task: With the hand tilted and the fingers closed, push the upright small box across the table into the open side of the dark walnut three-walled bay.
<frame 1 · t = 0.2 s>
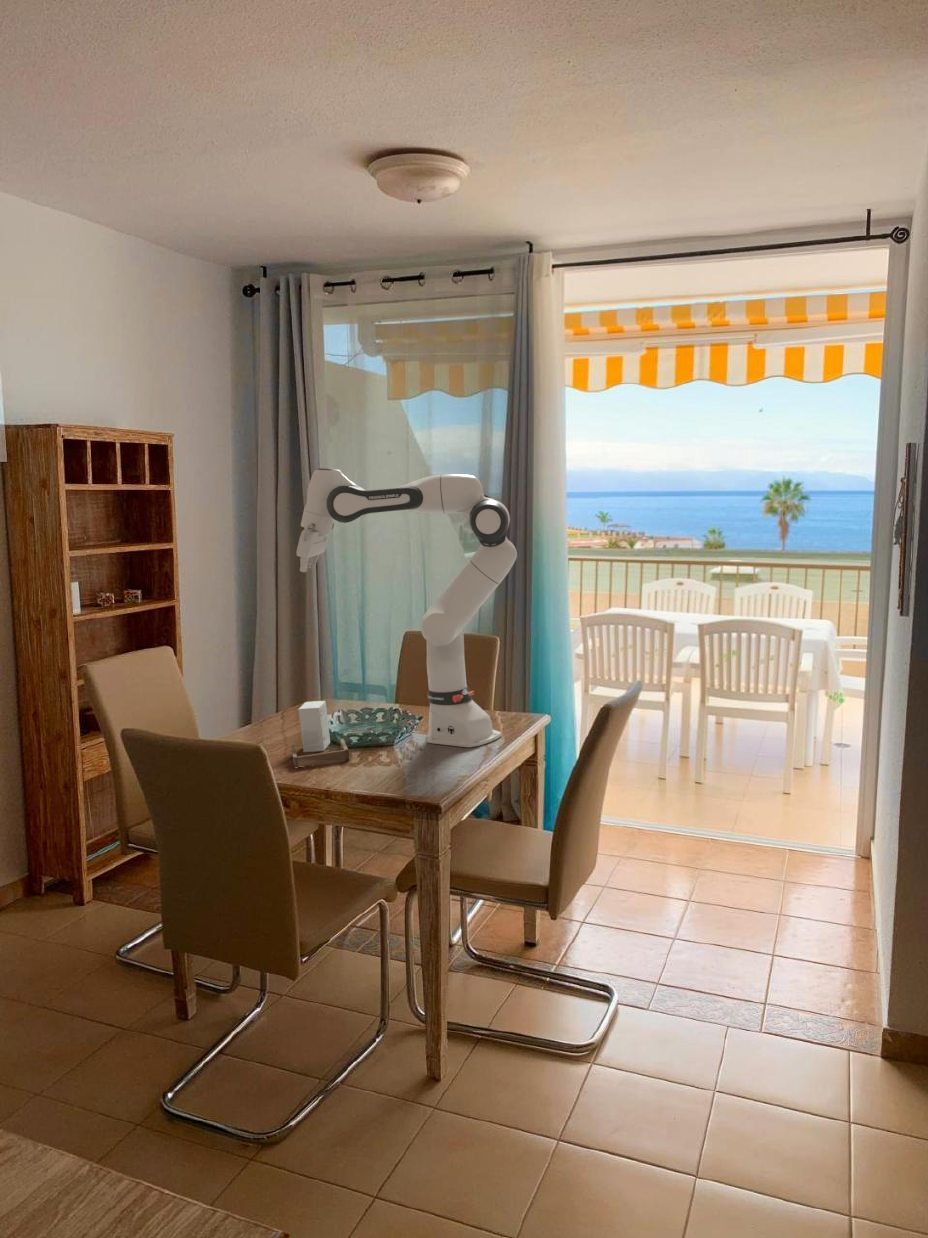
hand: (307, 569, 277), 52 cm above the table, tool tilted 20°, fingers open, 8 cm apart
small box: (317, 748, 281), on the table
walnut bay: (319, 756, 272), on the table
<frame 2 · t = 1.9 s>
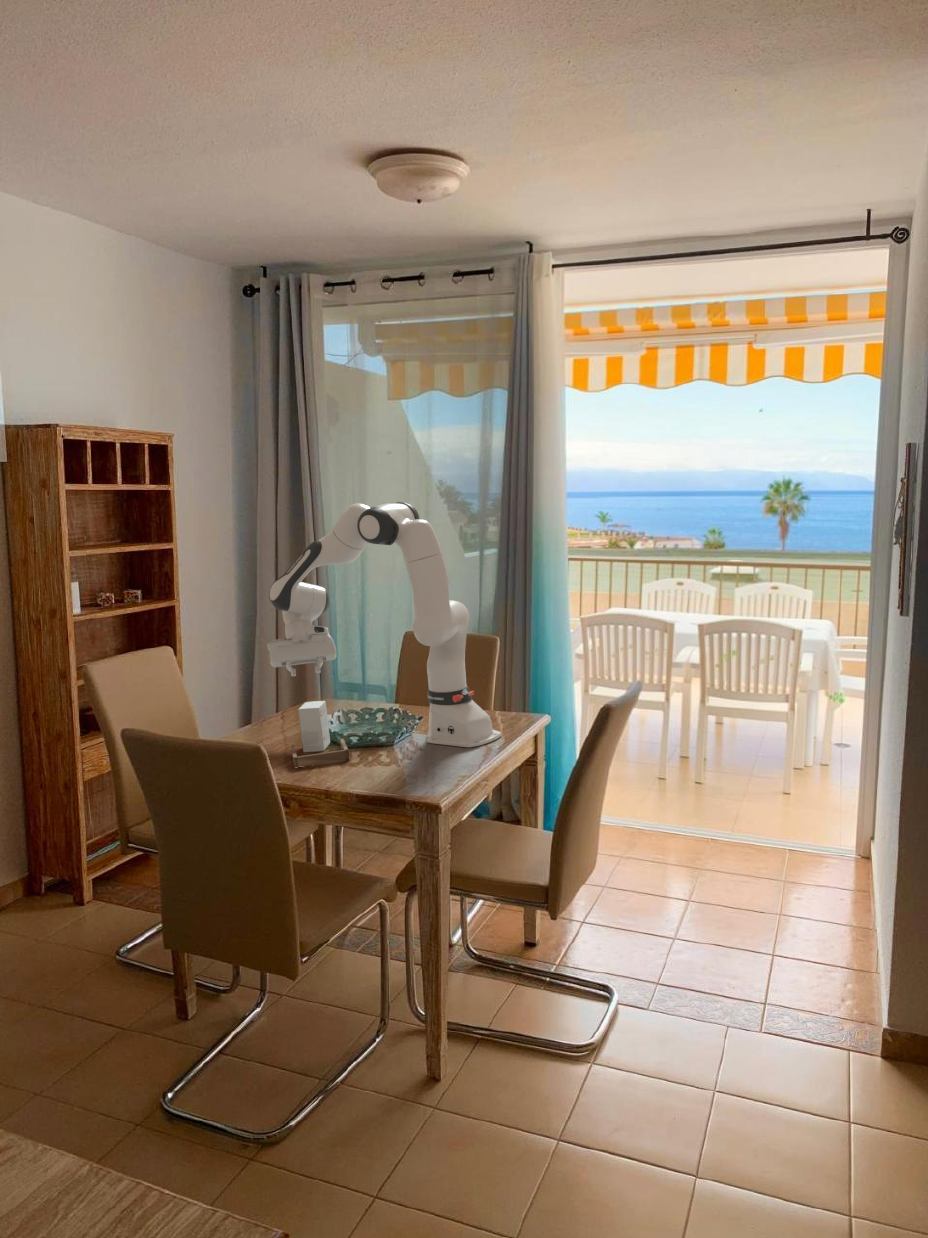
hand: (306, 673, 290), 19 cm above the table, tool tilted 45°, fingers open, 6 cm apart
nothing on the table moved.
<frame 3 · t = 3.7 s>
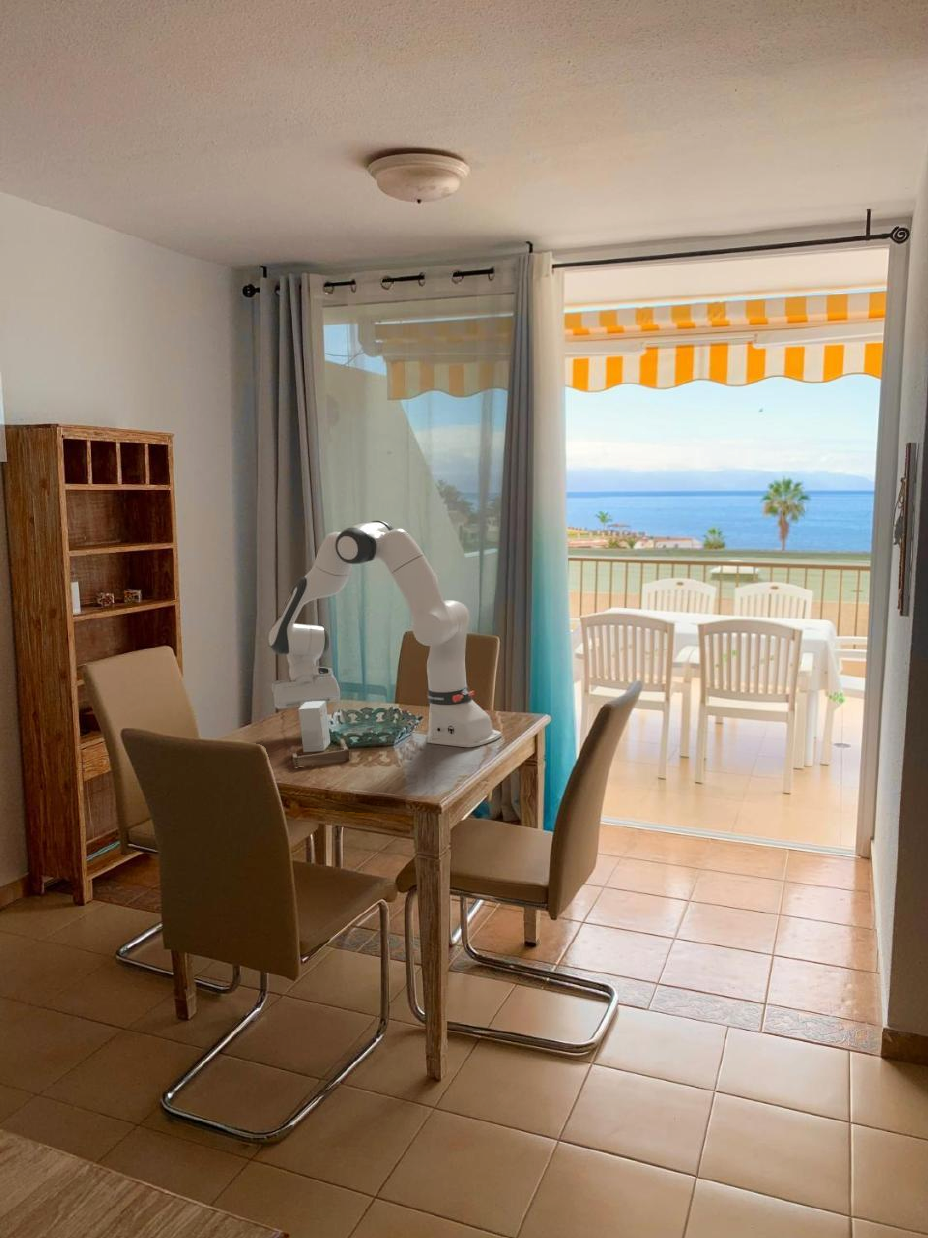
hand: (310, 715, 292), 6 cm above the table, tool tilted 45°, fingers closed
nothing on the table moved.
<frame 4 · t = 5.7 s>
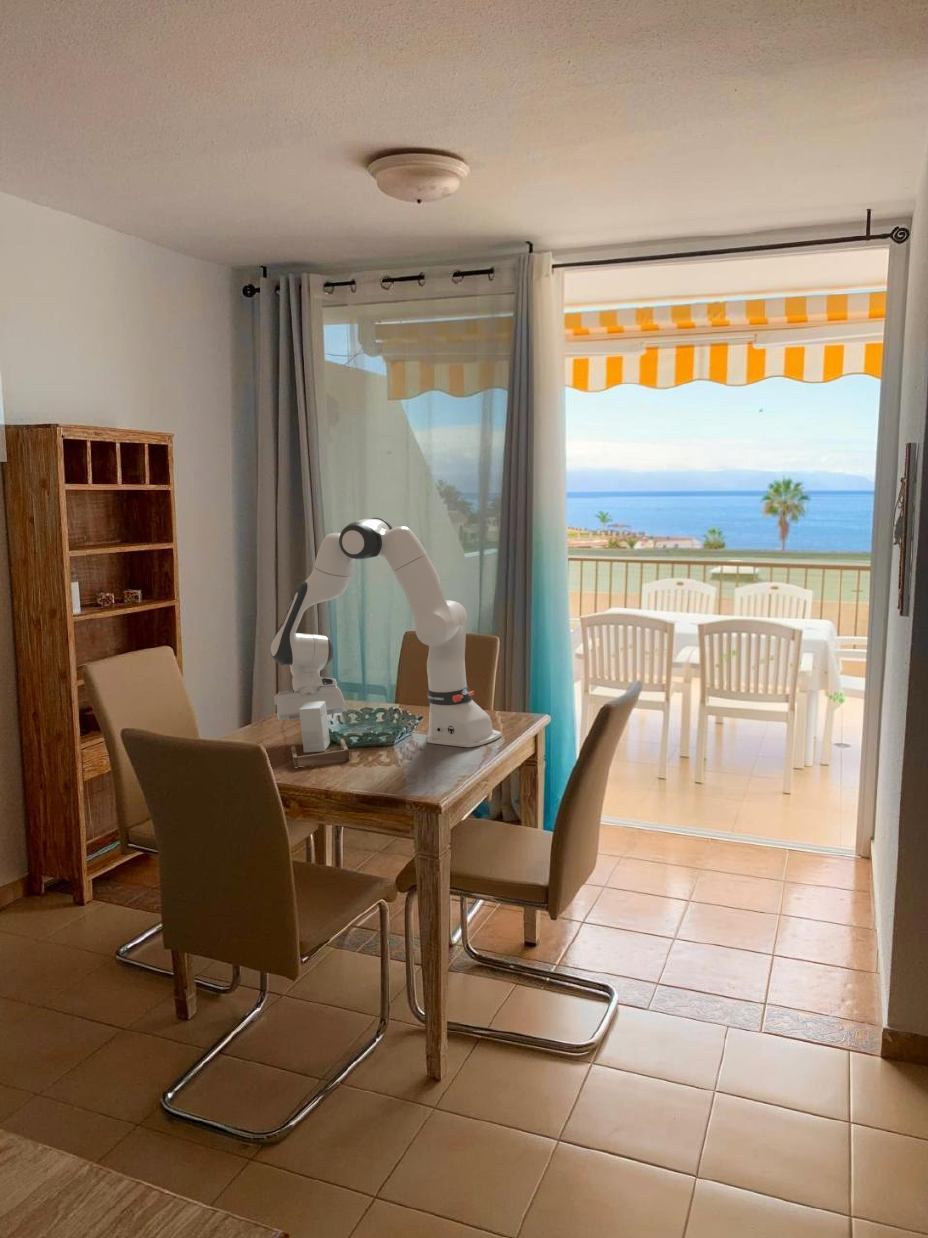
hand: (313, 727, 284), 5 cm above the table, tool tilted 45°, fingers closed
small box: (317, 748, 280), on the table, touching gripper
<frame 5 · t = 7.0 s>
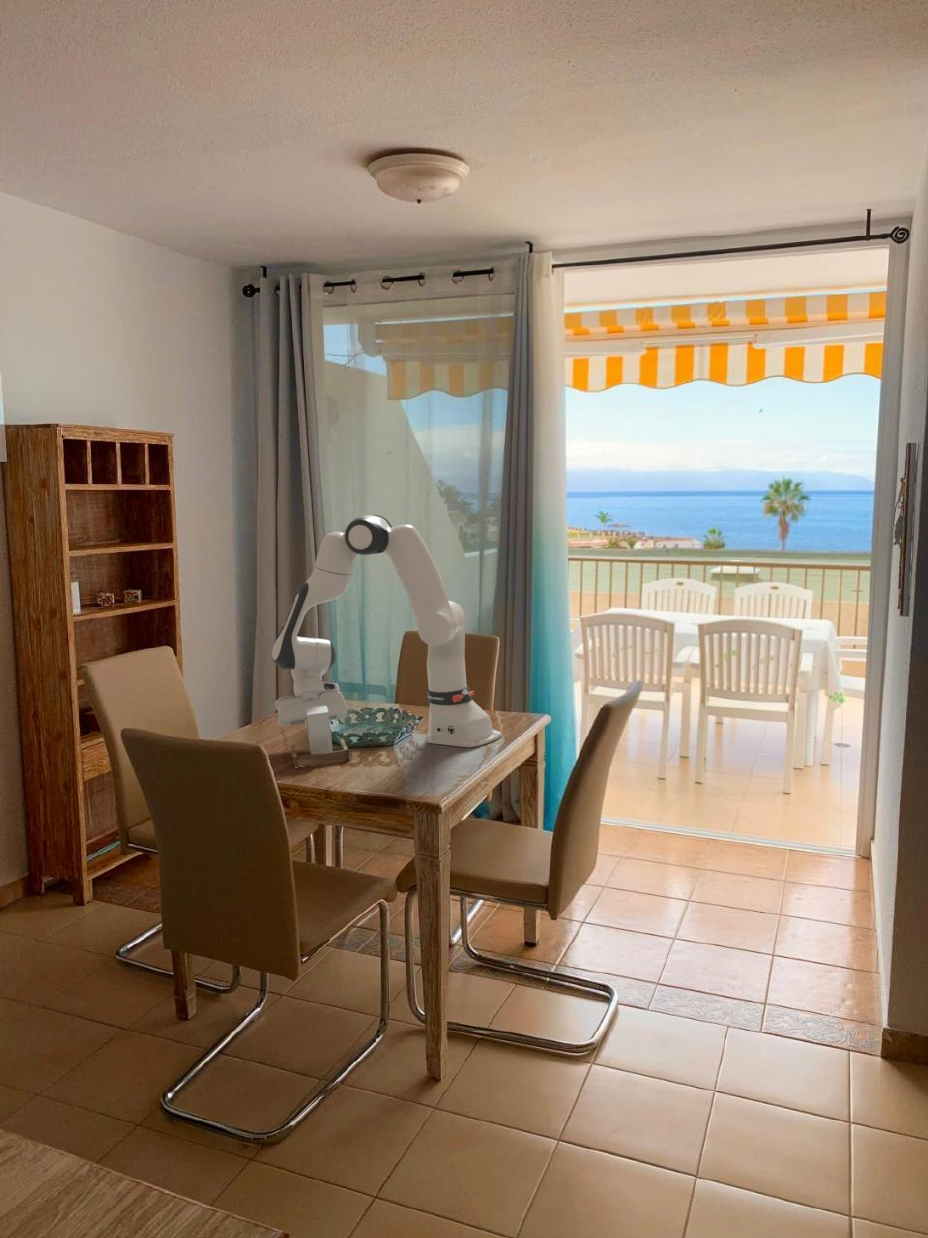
hand: (315, 734, 277), 5 cm above the table, tool tilted 45°, fingers closed, pressing on small box
small box: (321, 754, 274), on the table, touching gripper
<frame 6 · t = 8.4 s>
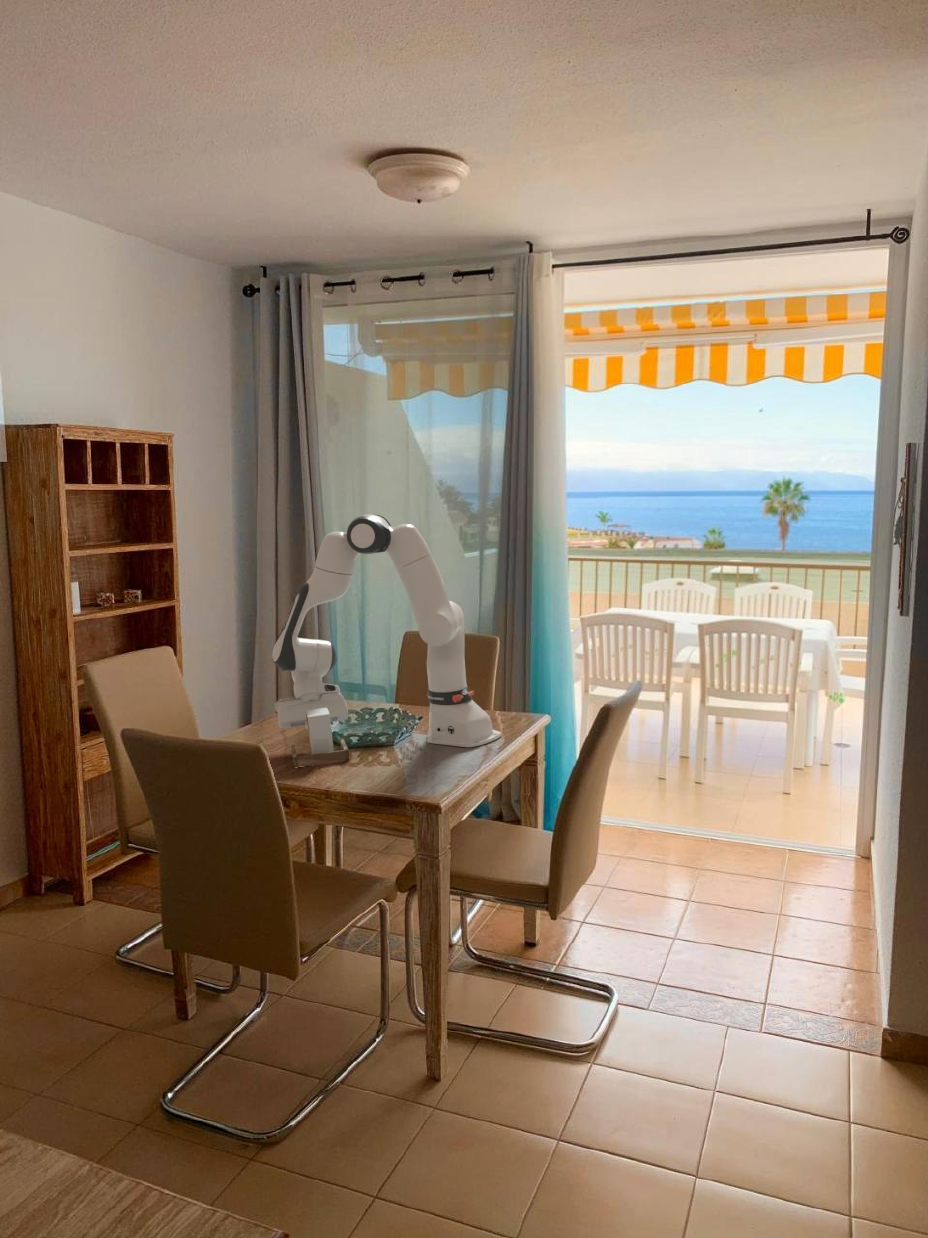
hand: (316, 736, 275), 5 cm above the table, tool tilted 45°, fingers closed, pressing on small box
small box: (322, 757, 271), on the table, touching gripper
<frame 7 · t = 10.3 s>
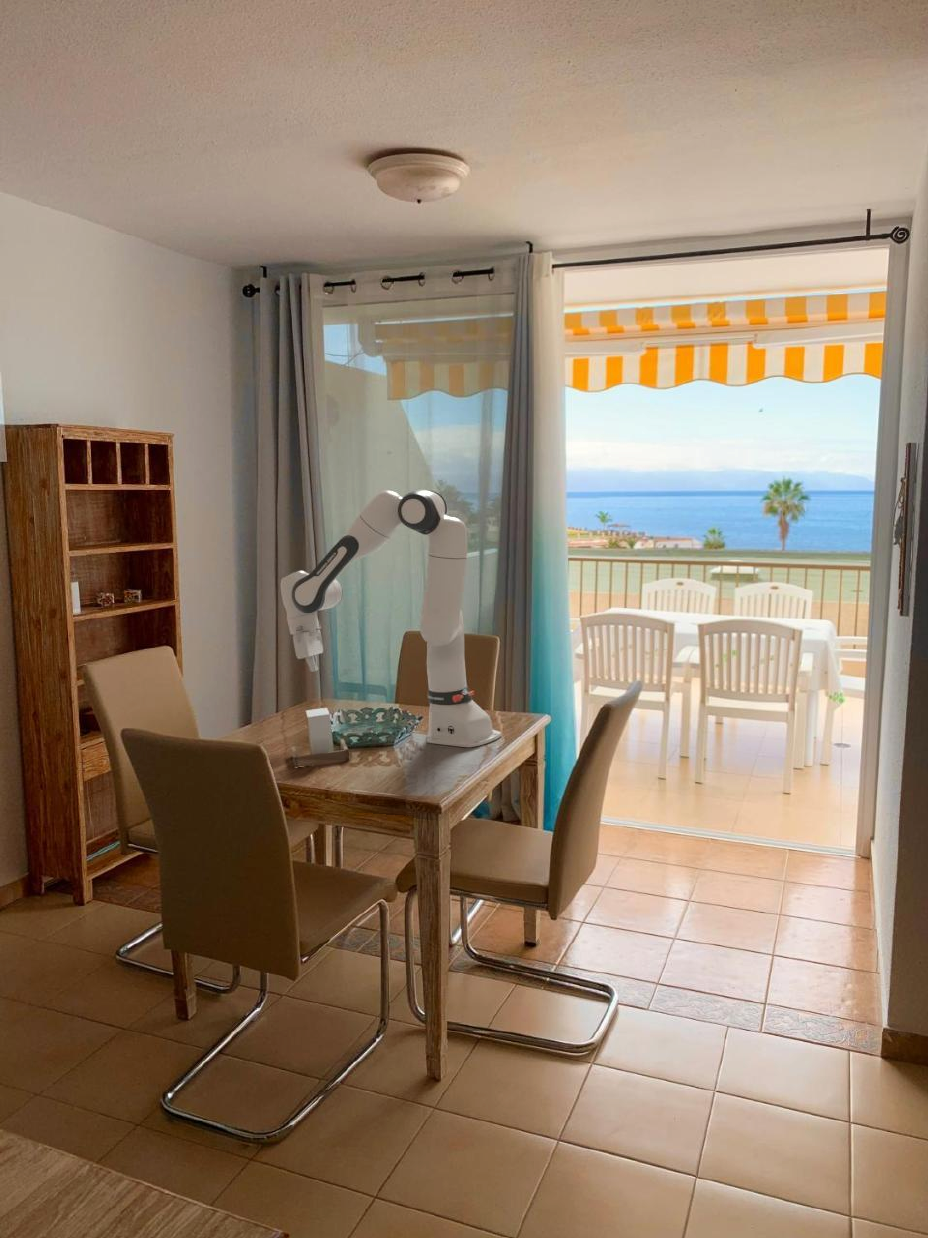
hand: (314, 671, 286), 21 cm above the table, tool pointing down, fingers closed
small box: (322, 757, 271), on the table
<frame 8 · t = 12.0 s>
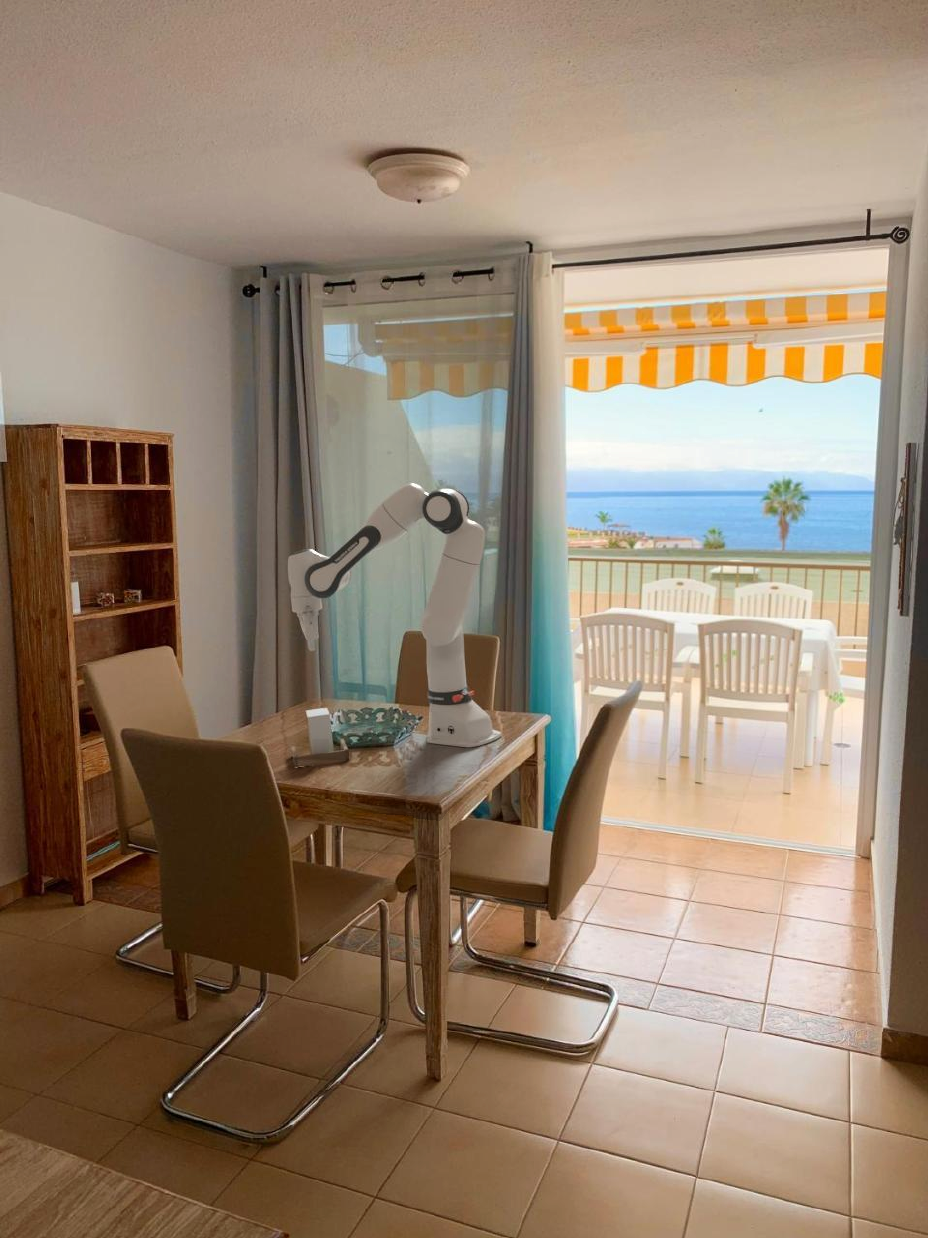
hand: (311, 650, 286), 27 cm above the table, tool pointing down, fingers closed
nothing on the table moved.
at the end: small box 0.7 cm from the walnut bay (horizontally); small box tilted 0°; the gripper is holding nothing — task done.
